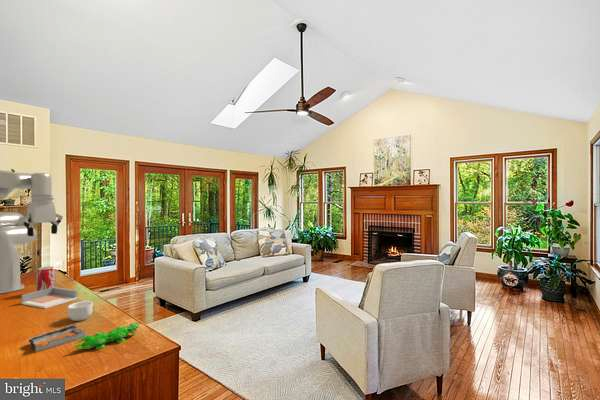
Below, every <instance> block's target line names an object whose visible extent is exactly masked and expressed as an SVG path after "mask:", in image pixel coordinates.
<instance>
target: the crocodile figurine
mask: <svg viewBox="0 0 600 400" xmlns="http://www.w3.org/2000/svg"><path fill="white" fill-rule="evenodd" d="M140 325H141V324H140V323H134V322H131V323H130V324H129V325H126V326H122V327H121V325H120V326H118V327H117V328H115V329H114V328H113V329H110V330H109V331H105V332H104V331H103V332H101V333H100V332H95V334H87V335H85V337H83V338H80V339H77V341H76V340H75V342H74V344H76V345H74V346H73V348H75V350H83V349H84V350H85V349H86V350H87V349H91V348H94V347H95V350H99V348H101V349H104V348H105V347H106V345H105V344H106V343H107V342H114V341H116V342H118V343H122V341H123V342H125V341H126V338H127V336H128V335H129V334H133V335H135V334H136V331H137V329H138V328H139V327H140ZM124 337H126V338H124ZM121 338H122V339H121ZM78 343H79V344H78ZM103 347H104V348H103Z"/></svg>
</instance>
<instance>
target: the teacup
mask: <svg viewBox="0 0 600 400" xmlns="http://www.w3.org/2000/svg"><path fill="white" fill-rule="evenodd" d="M93 307H94V304H93V301H90V300H85V301H78V302H74V303H70V304H69V305H68V306H67V315H68V318H69V319H70V320H71V321H73V322H80V321H84V320H87V319H88V318H90V316H91V315H92V313H93V309H94V308H93Z"/></svg>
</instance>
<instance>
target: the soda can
mask: <svg viewBox="0 0 600 400" xmlns="http://www.w3.org/2000/svg"><path fill="white" fill-rule="evenodd" d="M35 273H36V277H35V278H36V281H35V283H36V286H35V287H36V291H40V290H44V289H48V288H52V287H56V271H55V268H54V266H43V267H39V268H37V271H36V272H35Z"/></svg>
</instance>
